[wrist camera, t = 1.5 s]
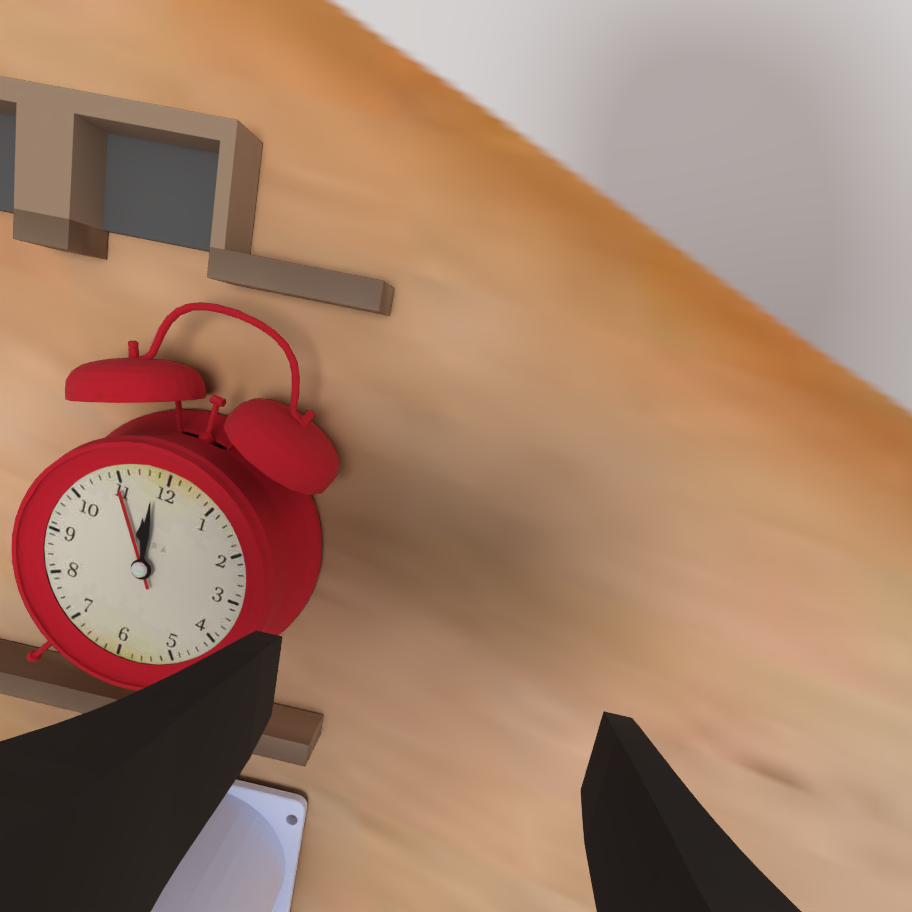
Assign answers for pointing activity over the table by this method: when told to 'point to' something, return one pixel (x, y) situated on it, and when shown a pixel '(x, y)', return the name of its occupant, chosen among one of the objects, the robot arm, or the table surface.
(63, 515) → the alarm clock
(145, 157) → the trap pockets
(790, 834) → the table surface
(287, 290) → the wall
